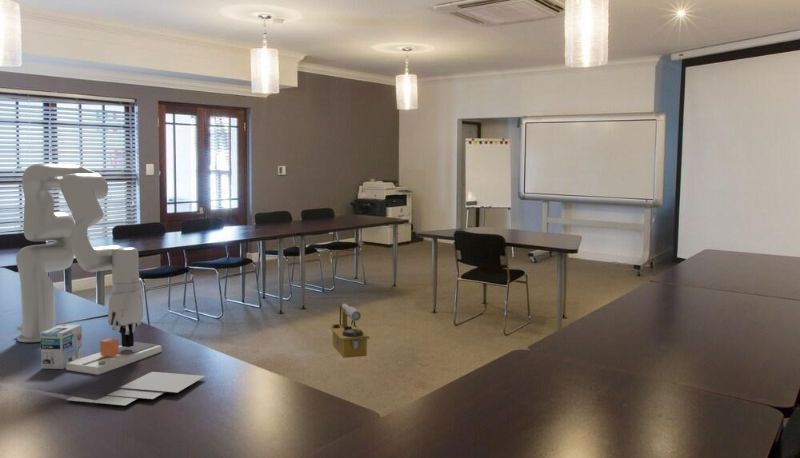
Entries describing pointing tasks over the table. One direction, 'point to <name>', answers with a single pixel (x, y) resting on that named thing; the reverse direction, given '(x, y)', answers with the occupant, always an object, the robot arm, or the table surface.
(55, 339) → the light bulb box
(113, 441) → the table surface
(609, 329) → the table surface
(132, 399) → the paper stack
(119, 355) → the panel
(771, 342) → the table surface
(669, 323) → the table surface
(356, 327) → the geiger counter
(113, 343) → the handle
